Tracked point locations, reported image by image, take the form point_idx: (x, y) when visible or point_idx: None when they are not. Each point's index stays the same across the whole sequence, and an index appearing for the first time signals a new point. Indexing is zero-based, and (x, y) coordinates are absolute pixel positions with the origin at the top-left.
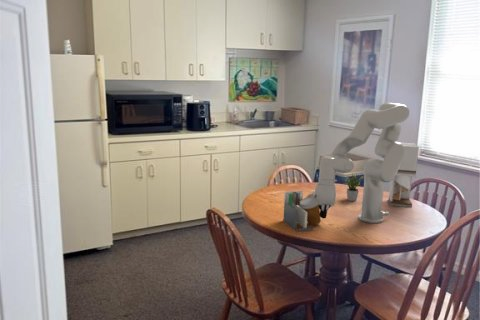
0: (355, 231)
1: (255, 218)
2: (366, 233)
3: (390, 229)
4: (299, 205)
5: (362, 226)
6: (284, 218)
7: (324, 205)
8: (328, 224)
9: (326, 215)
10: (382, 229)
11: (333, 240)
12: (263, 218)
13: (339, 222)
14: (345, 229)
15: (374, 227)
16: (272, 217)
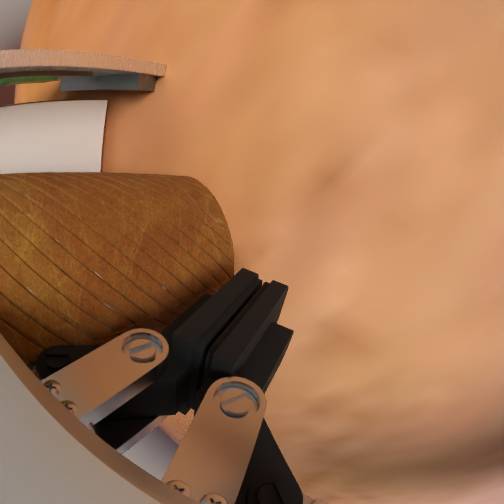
0: (364, 474)
1: (26, 32)
2: (381, 497)
3: (501, 500)
4: (7, 70)
5: (477, 460)
6: (56, 80)
7: (183, 445)
8: (321, 328)
9: (278, 366)
10: (485, 496)
11: (175, 431)
12: (38, 32)
13: (459, 356)
14: (344, 443)
15: (494, 480)
16: (62, 16)
